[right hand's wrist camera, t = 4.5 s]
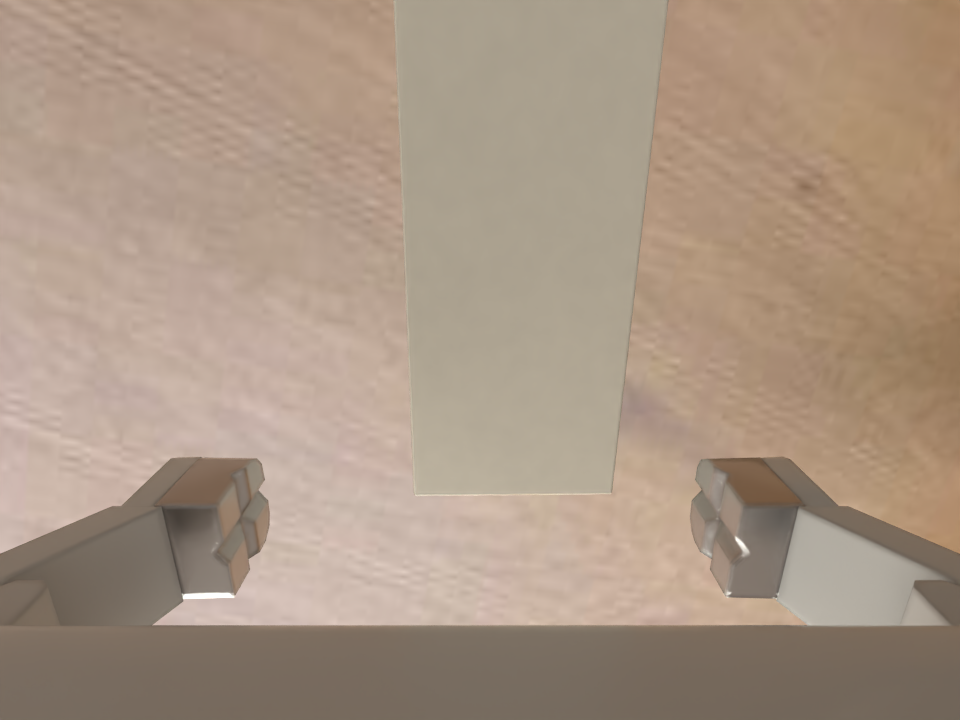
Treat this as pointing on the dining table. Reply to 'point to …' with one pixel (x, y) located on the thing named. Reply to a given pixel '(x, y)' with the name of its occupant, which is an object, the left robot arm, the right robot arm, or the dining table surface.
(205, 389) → the dining table surface
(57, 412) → the dining table surface
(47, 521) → the dining table surface
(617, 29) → the box
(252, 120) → the dining table surface
